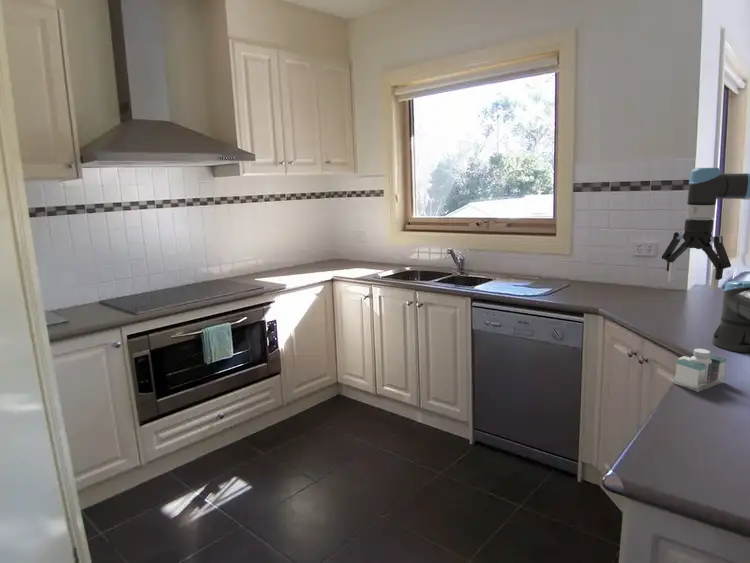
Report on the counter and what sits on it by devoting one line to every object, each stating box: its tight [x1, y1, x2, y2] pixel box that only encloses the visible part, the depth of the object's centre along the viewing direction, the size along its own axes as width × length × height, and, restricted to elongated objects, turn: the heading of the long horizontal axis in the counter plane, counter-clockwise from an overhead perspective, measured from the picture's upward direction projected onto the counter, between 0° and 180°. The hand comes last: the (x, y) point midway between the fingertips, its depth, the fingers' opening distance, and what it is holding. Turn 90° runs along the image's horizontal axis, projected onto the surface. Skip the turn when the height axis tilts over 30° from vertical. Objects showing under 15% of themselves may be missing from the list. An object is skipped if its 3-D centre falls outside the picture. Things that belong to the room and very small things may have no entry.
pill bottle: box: [690, 348, 712, 383], centre depth 151 cm, size 5×5×9 cm
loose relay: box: [677, 355, 691, 361], centre depth 160 cm, size 4×5×4 cm
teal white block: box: [673, 354, 727, 393], centre depth 152 cm, size 13×7×7 cm, turn 118°
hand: (691, 285), depth 166 cm, fingers open, 13 cm apart
